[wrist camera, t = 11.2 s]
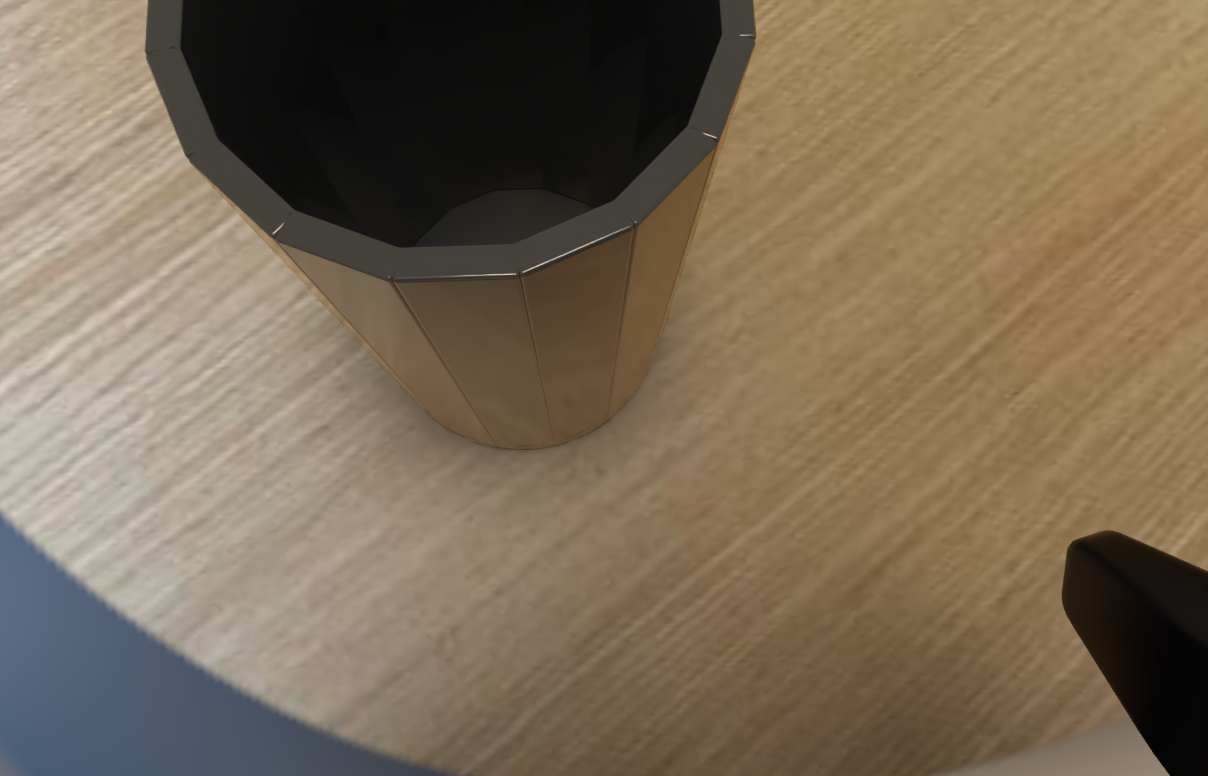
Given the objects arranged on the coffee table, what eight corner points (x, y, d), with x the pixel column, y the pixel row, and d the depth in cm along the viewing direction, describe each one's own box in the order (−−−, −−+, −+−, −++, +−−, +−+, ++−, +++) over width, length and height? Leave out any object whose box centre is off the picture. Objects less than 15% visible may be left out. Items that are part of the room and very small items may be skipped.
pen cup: (706, 380, 23) (859, 130, 10) (451, 496, 22) (276, 383, 9) (590, 147, 24) (599, -336, 11) (345, 250, 23) (63, -142, 11)
